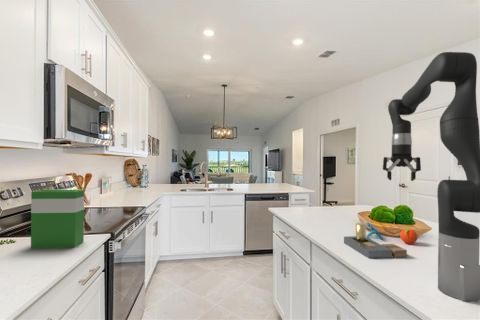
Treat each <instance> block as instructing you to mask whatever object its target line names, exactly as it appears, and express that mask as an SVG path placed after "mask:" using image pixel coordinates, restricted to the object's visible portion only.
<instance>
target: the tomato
mask: <svg viewBox="0 0 480 320" xmlns="http://www.w3.org/2000/svg"><path fill="white" fill-rule="evenodd" d="M399 238H400V240H402V242H404V243H405V244H407V245H411V244H415V243H416V242H417V241H418V234H417V232H416V231H415V230H413V229H412V228H404V229H402V230H401V231H400V234H399Z"/></svg>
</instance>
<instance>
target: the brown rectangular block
mask: <svg viewBox="0 0 480 320" xmlns="http://www.w3.org/2000/svg"><path fill="white" fill-rule="evenodd" d="M381 245H383V246H385V247H387V248H389V249H391V250H392V256H393V257H392V258H395V259H400V258H401V259H403V257H408V256H407V255H408V254H407V253H408V251H407V249H406V248H403V247H401V246H399V245H397V244H394V243H381Z"/></svg>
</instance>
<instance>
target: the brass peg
mask: <svg viewBox="0 0 480 320" xmlns="http://www.w3.org/2000/svg"><path fill="white" fill-rule="evenodd" d="M366 230H367V224H366V223H365V224H364V223H360V222H359V223H358V222H357V223H356V224H355V236H356V241H357V242H366V236H367V234H366V233H367V232H366Z"/></svg>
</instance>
